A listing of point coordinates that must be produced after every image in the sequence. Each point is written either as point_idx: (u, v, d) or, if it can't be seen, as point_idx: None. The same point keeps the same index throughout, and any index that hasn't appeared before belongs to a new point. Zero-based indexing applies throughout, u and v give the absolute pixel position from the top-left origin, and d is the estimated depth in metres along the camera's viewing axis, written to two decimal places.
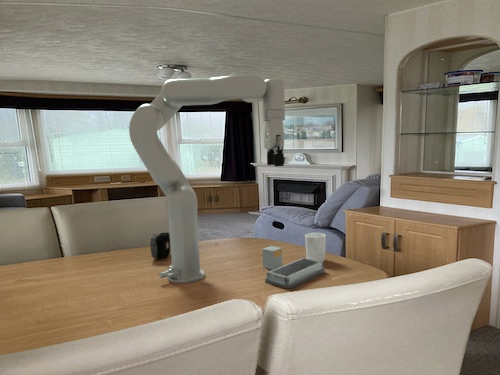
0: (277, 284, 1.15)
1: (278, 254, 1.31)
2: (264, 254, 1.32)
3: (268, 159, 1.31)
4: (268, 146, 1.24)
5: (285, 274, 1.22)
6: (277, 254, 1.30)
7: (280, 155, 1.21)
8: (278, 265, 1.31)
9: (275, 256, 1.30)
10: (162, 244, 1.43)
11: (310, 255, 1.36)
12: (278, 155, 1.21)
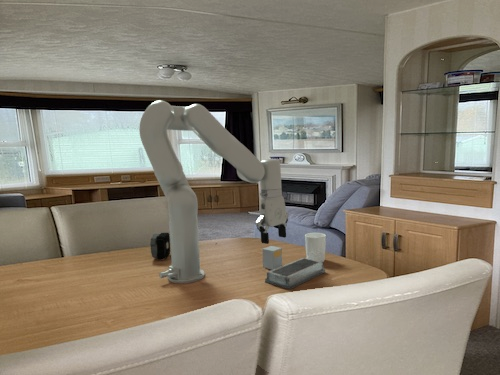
0: (277, 284, 1.15)
1: (278, 254, 1.31)
2: (264, 254, 1.32)
3: None
4: (282, 221, 1.31)
5: (285, 274, 1.22)
6: (277, 254, 1.30)
7: None
8: (278, 265, 1.31)
9: (275, 256, 1.30)
10: (162, 244, 1.43)
11: (310, 255, 1.36)
12: None
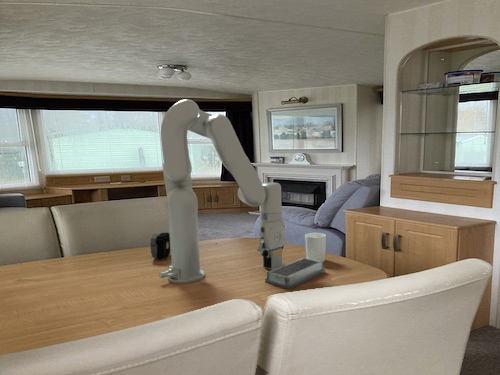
0: (277, 284, 1.15)
1: (278, 254, 1.31)
2: None
3: None
4: (281, 244, 1.32)
5: (285, 274, 1.22)
6: (277, 254, 1.30)
7: None
8: (278, 265, 1.31)
9: (275, 256, 1.30)
10: (162, 244, 1.43)
11: (310, 255, 1.36)
12: None
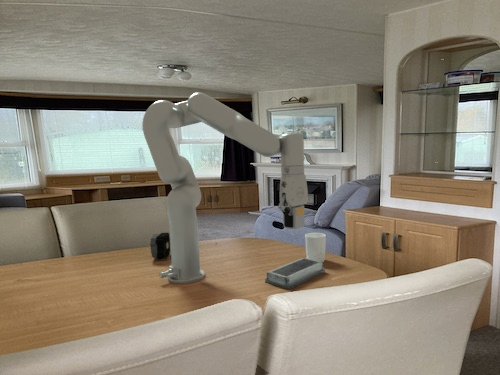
0: (277, 284, 1.15)
1: (300, 212, 1.19)
2: None
3: None
4: (304, 202, 1.19)
5: (285, 274, 1.22)
6: (299, 212, 1.18)
7: None
8: (300, 224, 1.19)
9: (297, 214, 1.17)
10: (162, 244, 1.43)
11: (310, 255, 1.36)
12: None
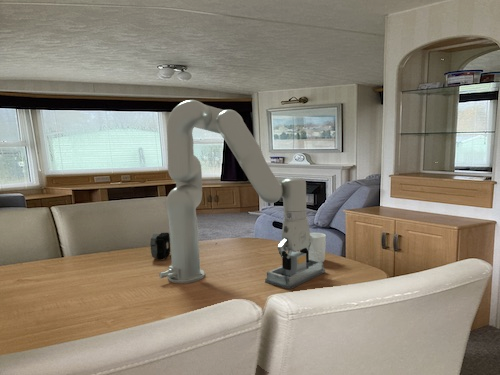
0: (277, 284, 1.15)
1: (302, 260, 1.20)
2: None
3: None
4: (306, 245, 1.20)
5: (285, 274, 1.22)
6: (301, 260, 1.19)
7: None
8: None
9: (299, 263, 1.18)
10: (162, 244, 1.43)
11: (310, 255, 1.36)
12: None
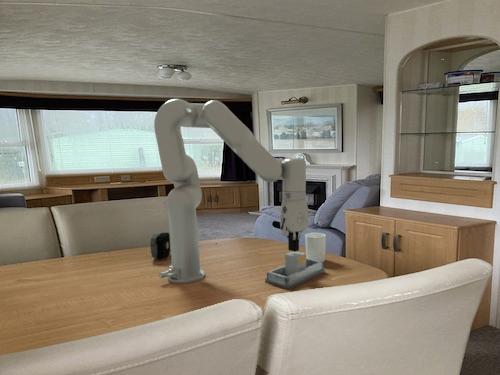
0: (277, 284, 1.15)
1: (302, 260, 1.20)
2: (287, 260, 1.20)
3: None
4: (304, 227, 1.19)
5: (285, 274, 1.22)
6: (301, 260, 1.19)
7: None
8: None
9: (299, 263, 1.18)
10: (162, 244, 1.43)
11: (310, 255, 1.36)
12: None
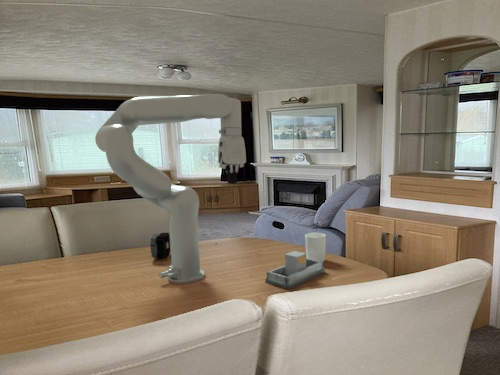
0: (277, 284, 1.15)
1: (302, 260, 1.20)
2: (287, 260, 1.20)
3: None
4: (241, 161, 1.32)
5: (285, 274, 1.22)
6: (301, 260, 1.19)
7: None
8: None
9: (299, 263, 1.18)
10: (162, 244, 1.43)
11: (310, 255, 1.36)
12: None
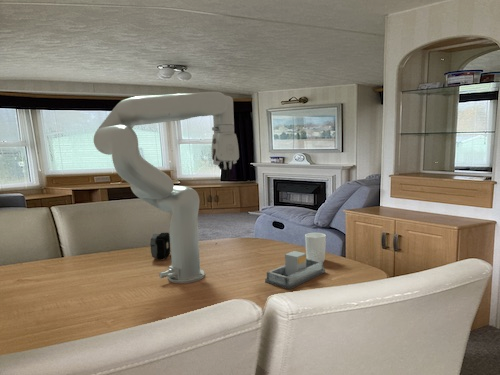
0: (277, 284, 1.15)
1: (302, 260, 1.20)
2: (287, 260, 1.20)
3: None
4: (234, 158, 1.34)
5: (285, 274, 1.22)
6: (301, 260, 1.19)
7: None
8: None
9: (299, 263, 1.18)
10: (162, 244, 1.43)
11: (310, 255, 1.36)
12: None
